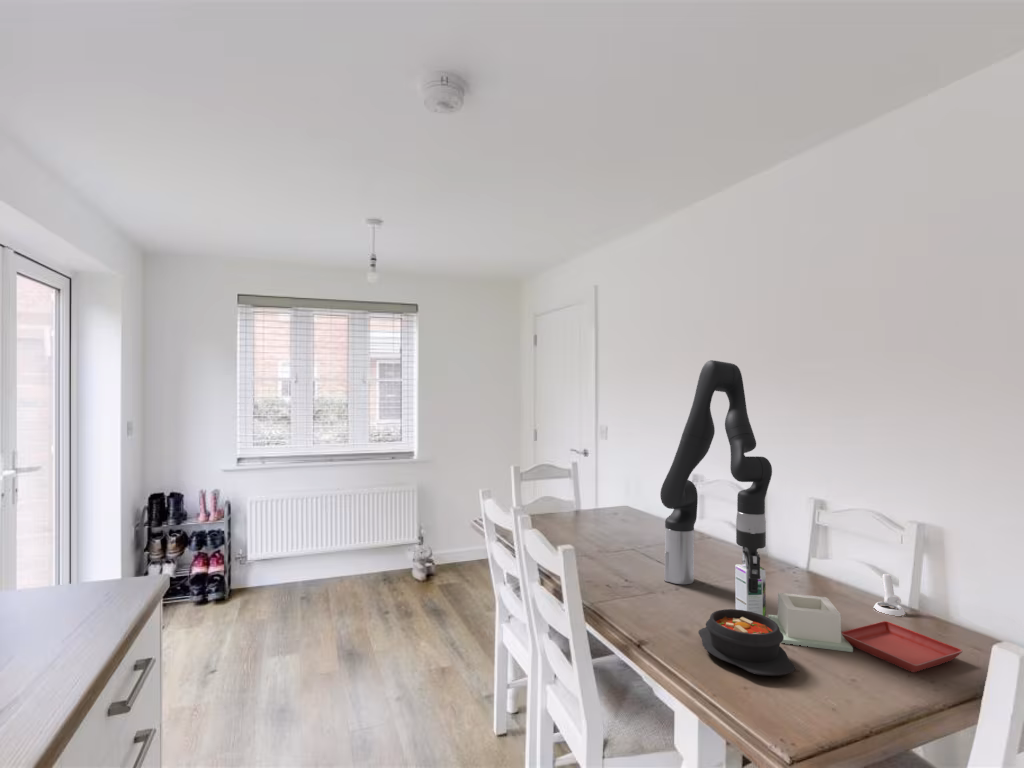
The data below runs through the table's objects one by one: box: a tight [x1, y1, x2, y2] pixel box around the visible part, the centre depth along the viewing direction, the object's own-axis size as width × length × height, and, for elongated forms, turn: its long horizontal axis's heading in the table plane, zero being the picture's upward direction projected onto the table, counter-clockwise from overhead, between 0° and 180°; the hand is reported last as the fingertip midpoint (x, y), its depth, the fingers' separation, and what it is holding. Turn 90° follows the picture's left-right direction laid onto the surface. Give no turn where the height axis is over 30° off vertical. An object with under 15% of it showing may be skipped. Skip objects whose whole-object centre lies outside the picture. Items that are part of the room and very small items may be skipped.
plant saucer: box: [841, 620, 963, 673], centre depth 132 cm, size 18×18×3 cm
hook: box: [873, 573, 906, 617], centre depth 160 cm, size 8×12×7 cm
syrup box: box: [734, 563, 767, 617], centre depth 151 cm, size 6×6×14 cm
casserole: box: [698, 608, 796, 677], centre depth 129 cm, size 25×19×8 cm
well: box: [767, 592, 854, 653], centre depth 142 cm, size 16×16×8 cm
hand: (750, 587), depth 151 cm, fingers open, 8 cm apart
